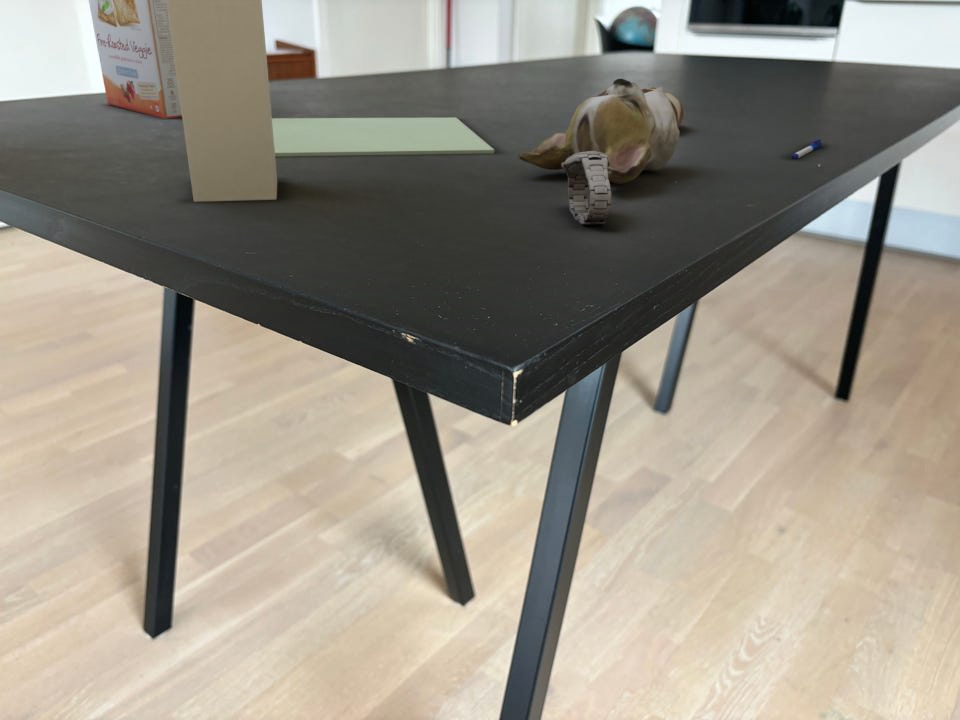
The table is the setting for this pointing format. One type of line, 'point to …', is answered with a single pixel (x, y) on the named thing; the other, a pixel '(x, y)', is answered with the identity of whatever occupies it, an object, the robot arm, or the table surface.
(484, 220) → the table surface
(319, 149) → the mat
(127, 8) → the cracker box
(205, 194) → the cream rectangular block
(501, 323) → the table surface
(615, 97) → the ceramic sculpture
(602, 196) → the wristwatch
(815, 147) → the blue and white marker
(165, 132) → the table surface
